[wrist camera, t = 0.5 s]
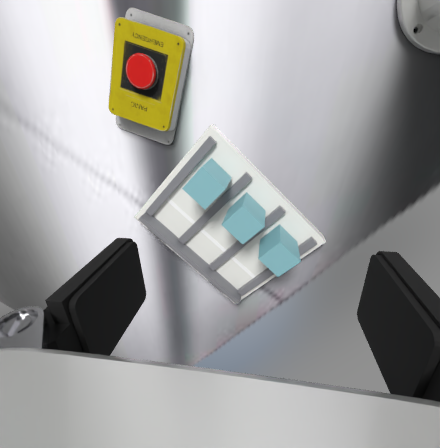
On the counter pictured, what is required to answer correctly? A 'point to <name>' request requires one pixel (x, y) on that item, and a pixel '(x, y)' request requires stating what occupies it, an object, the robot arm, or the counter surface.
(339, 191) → the counter surface
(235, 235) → the light teal block
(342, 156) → the counter surface
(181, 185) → the white ridged tray
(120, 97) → the emergency button
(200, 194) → the teal rectangular block
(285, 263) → the teal rectangular block
